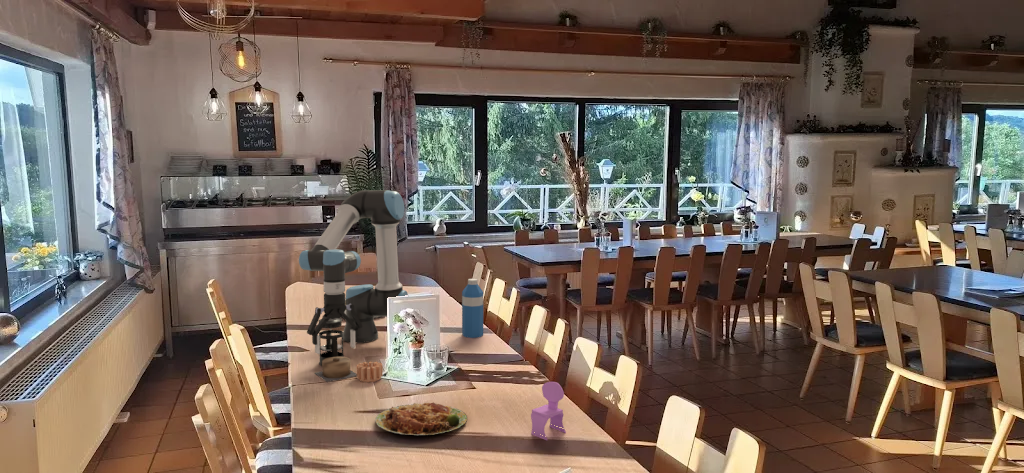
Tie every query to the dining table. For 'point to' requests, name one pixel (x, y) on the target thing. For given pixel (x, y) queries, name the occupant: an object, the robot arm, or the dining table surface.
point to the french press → (331, 340)
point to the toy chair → (548, 410)
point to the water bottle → (472, 310)
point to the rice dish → (421, 419)
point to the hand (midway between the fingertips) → (335, 350)
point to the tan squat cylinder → (336, 367)
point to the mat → (335, 378)
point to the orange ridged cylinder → (369, 371)
